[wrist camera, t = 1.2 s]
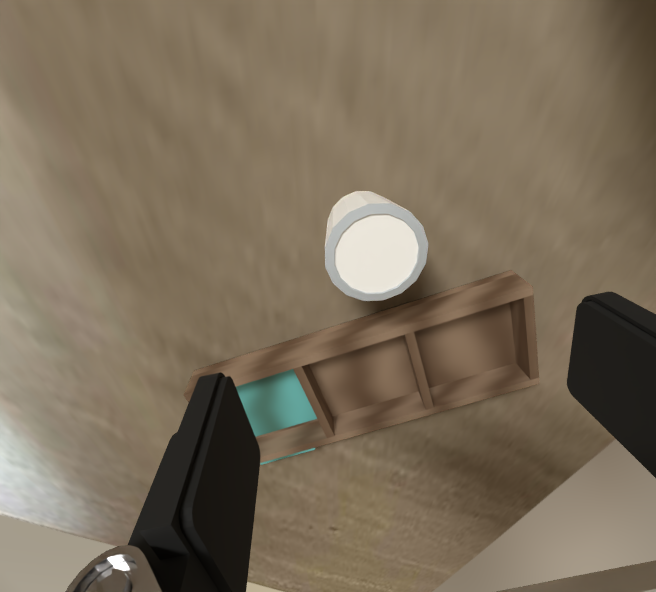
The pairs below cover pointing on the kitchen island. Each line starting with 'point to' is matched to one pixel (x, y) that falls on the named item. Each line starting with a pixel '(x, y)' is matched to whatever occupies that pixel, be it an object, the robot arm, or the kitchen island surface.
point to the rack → (387, 366)
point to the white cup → (373, 247)
